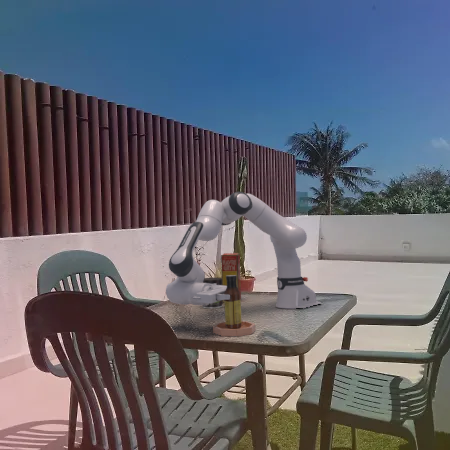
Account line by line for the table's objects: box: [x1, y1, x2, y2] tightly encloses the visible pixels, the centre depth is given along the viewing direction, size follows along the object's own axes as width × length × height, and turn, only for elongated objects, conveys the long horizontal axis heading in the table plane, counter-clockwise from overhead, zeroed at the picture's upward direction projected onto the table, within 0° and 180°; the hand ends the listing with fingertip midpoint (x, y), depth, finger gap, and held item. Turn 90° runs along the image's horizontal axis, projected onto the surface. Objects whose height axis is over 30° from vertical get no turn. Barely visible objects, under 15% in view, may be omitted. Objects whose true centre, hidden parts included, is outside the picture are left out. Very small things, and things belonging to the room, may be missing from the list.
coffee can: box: [201, 277, 224, 310], centre depth 240 cm, size 10×10×14 cm
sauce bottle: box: [223, 275, 243, 329], centre depth 184 cm, size 6×6×20 cm
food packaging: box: [220, 252, 242, 304], centre depth 256 cm, size 13×9×25 cm
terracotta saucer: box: [212, 320, 256, 337], centre depth 184 cm, size 15×15×2 cm
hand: (234, 295), depth 184 cm, fingers closed on sauce bottle, 6 cm apart
